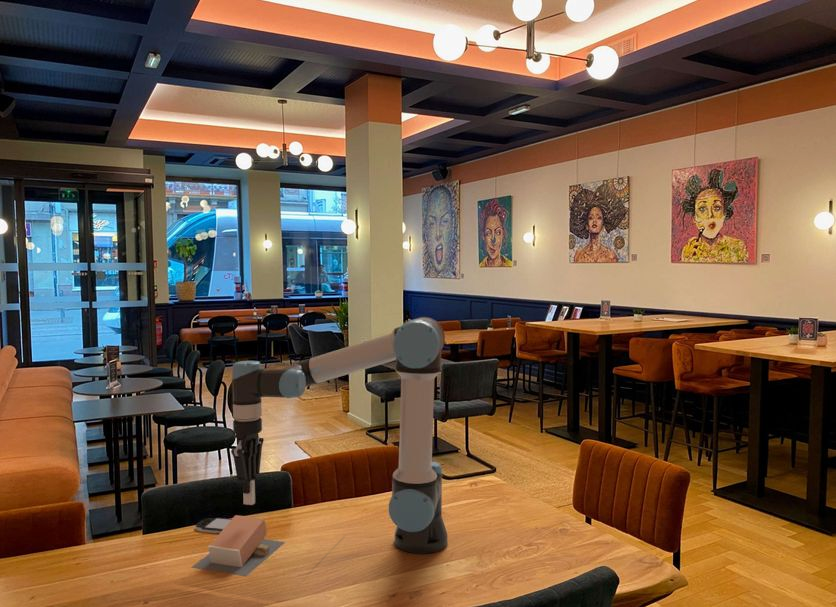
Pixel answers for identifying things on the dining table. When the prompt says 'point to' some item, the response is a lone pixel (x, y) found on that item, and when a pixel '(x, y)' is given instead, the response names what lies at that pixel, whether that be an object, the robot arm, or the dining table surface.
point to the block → (237, 541)
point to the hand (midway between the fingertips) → (249, 503)
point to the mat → (246, 568)
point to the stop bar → (261, 550)
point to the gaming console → (212, 525)
